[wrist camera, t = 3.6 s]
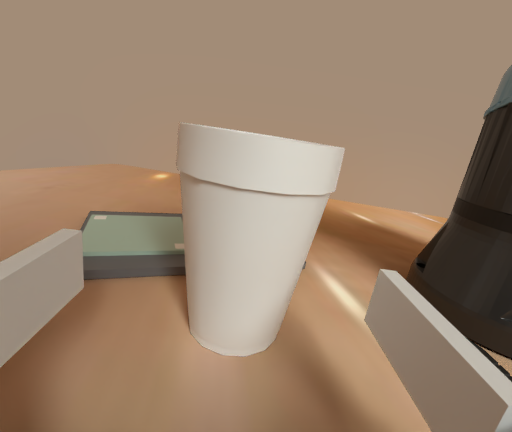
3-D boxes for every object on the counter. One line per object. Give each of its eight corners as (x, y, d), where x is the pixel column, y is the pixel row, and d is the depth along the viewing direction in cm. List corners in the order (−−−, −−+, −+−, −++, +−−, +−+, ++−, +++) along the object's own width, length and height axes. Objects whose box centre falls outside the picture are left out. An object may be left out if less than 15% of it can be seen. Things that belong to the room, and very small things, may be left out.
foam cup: (323, 367, 17) (382, 154, 14) (166, 390, 14) (186, 125, 11) (270, 284, 26) (298, 139, 22) (165, 288, 23) (176, 121, 19)
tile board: (255, 221, 43) (256, 213, 43) (304, 268, 30) (306, 258, 30) (90, 217, 35) (90, 207, 35) (58, 280, 22) (58, 266, 21)
